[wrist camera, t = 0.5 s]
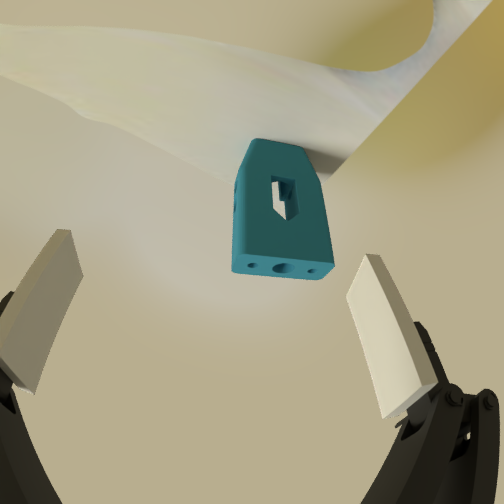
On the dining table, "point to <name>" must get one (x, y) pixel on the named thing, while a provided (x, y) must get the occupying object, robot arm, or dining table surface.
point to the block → (273, 224)
